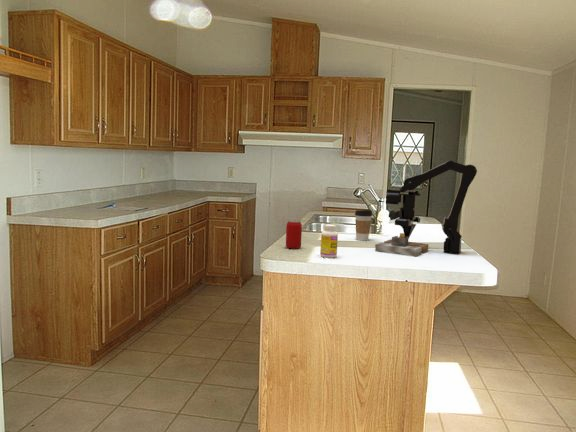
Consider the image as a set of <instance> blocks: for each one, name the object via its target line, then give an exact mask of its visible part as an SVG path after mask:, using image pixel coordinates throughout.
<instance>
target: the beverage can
mask: <svg viewBox="0 0 576 432" xmlns="http://www.w3.org/2000/svg"><path fill="white" fill-rule="evenodd" d="M302 227H303V224H302V222H301V220H297V219H289V220H288V221H287V222H286V229H285V232H286V233H285V246H286V247H287V248H288V249H289V248H291V249H290V250H298V249H299V248H301V247H302V235H303V233H302V232H303V230H302Z"/></svg>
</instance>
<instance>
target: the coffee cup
mask: <svg viewBox="0 0 576 432" xmlns="http://www.w3.org/2000/svg"><path fill="white" fill-rule="evenodd" d="M372 212H373V211H372V210H371V209H359V210H358V209H357V210H355V213H354V216H355V238H356V239H355V240H356V241H360V242H368V241H369V237H370V231H371V230H370V229H371V223H372V217H373V213H372Z"/></svg>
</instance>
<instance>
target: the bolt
mask: <svg viewBox="0 0 576 432" xmlns="http://www.w3.org/2000/svg"><path fill="white" fill-rule="evenodd" d="M397 238H406V236H405V234H404V232H403V233H402V232H400V233H399V236H398V237H397Z"/></svg>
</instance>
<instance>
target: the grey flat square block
mask: <svg viewBox="0 0 576 432" xmlns="http://www.w3.org/2000/svg"><path fill="white" fill-rule="evenodd" d="M397 237H399V236H398V235H395V236H392V237H391V239H388V240H385V241H381V242H379V243H376V244H375V249H374V251H375V252H377V253H384V254H385V253H386V254H394V255H400V256H409V257H418V256H420V255H422V254H425V253H426V252H428V251H429V243H421V242H411V241H409V239H410V237H406V238H397ZM408 238H409V239H408Z"/></svg>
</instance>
